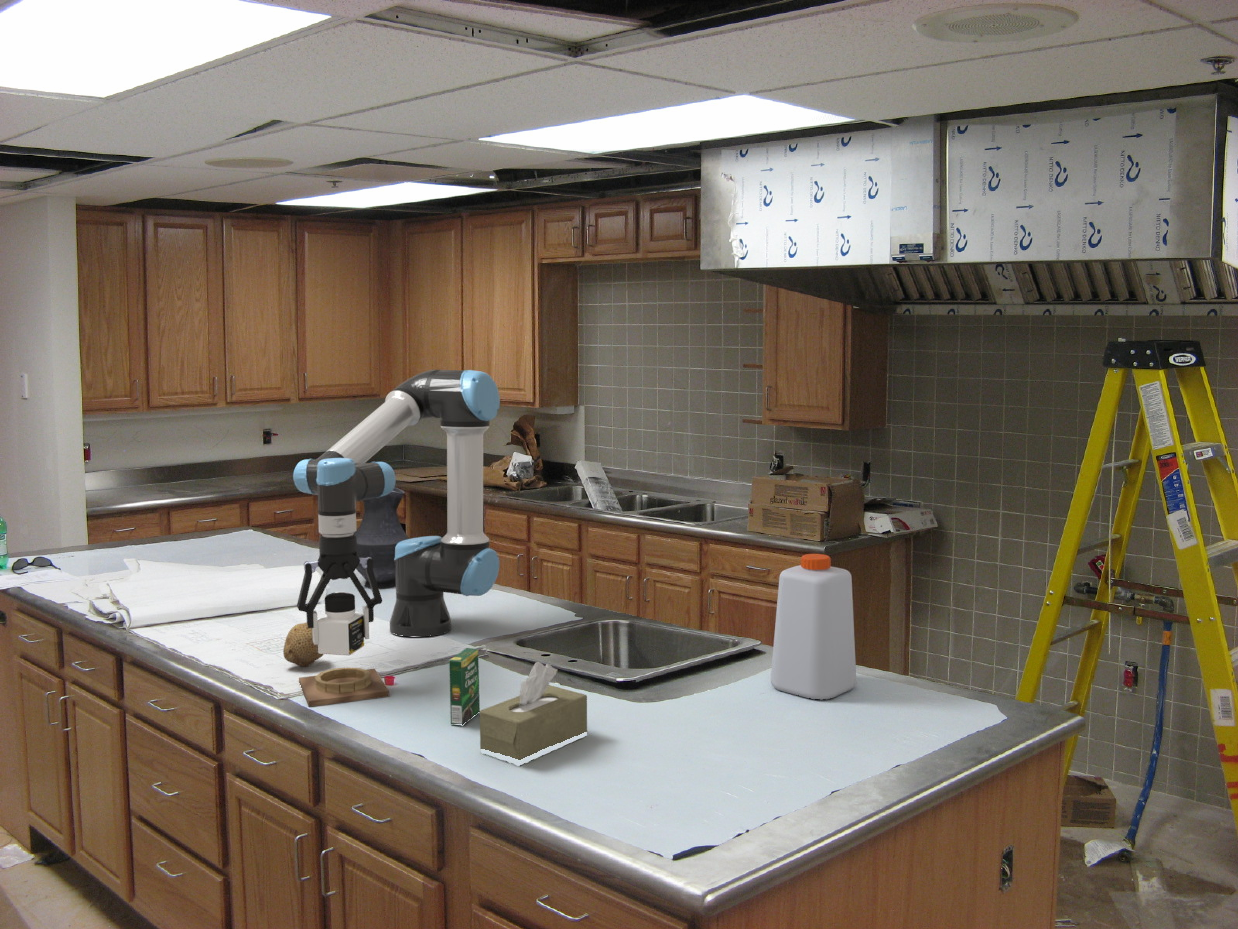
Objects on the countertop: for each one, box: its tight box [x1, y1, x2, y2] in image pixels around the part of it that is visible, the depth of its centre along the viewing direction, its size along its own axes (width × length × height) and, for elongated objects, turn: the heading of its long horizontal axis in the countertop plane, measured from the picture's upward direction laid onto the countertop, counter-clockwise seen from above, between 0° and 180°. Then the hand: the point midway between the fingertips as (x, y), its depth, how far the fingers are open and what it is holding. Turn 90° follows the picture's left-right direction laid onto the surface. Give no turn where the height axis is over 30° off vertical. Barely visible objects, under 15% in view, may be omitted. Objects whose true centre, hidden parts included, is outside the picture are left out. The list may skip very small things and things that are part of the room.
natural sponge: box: [283, 622, 325, 668], centre depth 246 cm, size 9×9×10 cm
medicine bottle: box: [317, 591, 365, 656], centre depth 229 cm, size 7×7×12 cm
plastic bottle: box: [770, 553, 857, 701], centre depth 230 cm, size 15×15×28 cm
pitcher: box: [354, 486, 410, 590], centre depth 321 cm, size 17×21×30 cm
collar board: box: [298, 666, 390, 708], centre depth 231 cm, size 16×16×3 cm
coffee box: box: [448, 647, 481, 725], centre depth 213 cm, size 8×3×13 cm, turn 163°
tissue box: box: [479, 661, 588, 760], centre depth 200 cm, size 19×10×16 cm, turn 141°
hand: (341, 640), depth 229 cm, fingers closed on medicine bottle, 10 cm apart
